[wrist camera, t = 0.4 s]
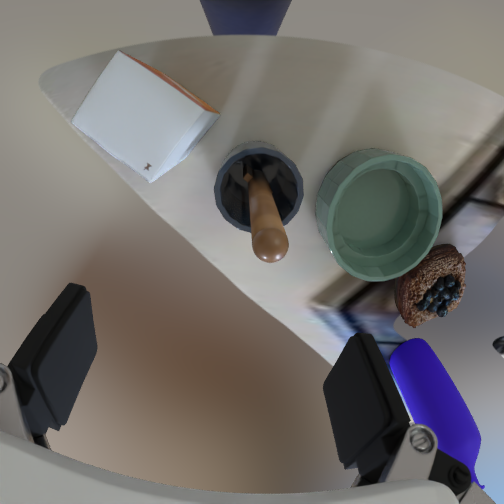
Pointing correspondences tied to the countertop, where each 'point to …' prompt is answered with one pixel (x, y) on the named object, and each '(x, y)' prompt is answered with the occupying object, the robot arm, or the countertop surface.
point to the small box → (143, 117)
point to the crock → (277, 174)
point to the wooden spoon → (264, 218)
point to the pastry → (431, 286)
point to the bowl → (378, 213)
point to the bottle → (436, 401)
